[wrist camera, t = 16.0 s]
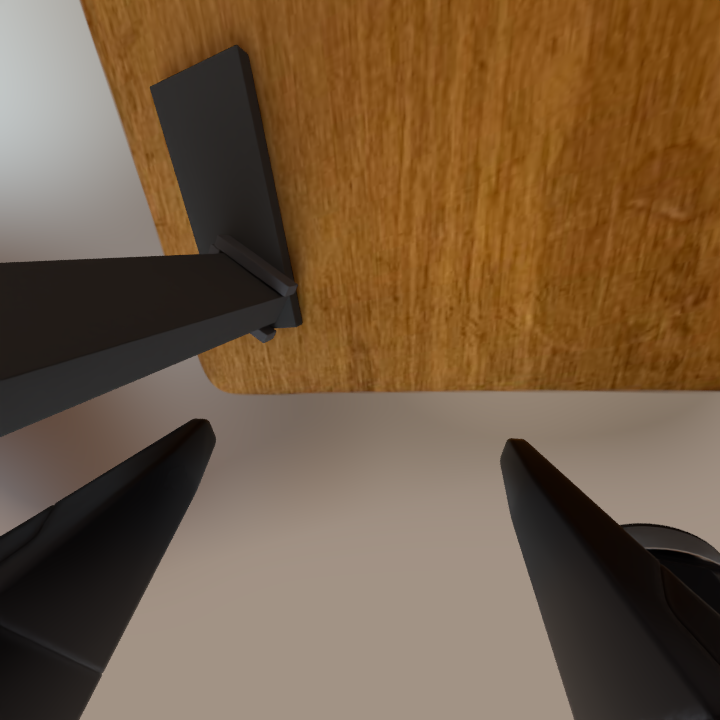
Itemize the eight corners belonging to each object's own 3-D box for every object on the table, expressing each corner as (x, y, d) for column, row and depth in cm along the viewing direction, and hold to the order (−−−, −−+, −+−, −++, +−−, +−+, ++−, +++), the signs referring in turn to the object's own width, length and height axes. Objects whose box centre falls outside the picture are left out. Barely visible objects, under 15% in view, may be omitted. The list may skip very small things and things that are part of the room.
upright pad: (289, 294, 20) (-318, 474, 5) (276, 321, 22) (-243, 540, 6) (234, 252, 21) (-532, 283, 5) (224, 281, 22) (-416, 385, 6)
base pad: (314, 333, 22) (300, 342, 20) (233, 337, 25) (213, 345, 23) (260, 48, 16) (233, 22, 15) (163, 93, 19) (129, 76, 17)
